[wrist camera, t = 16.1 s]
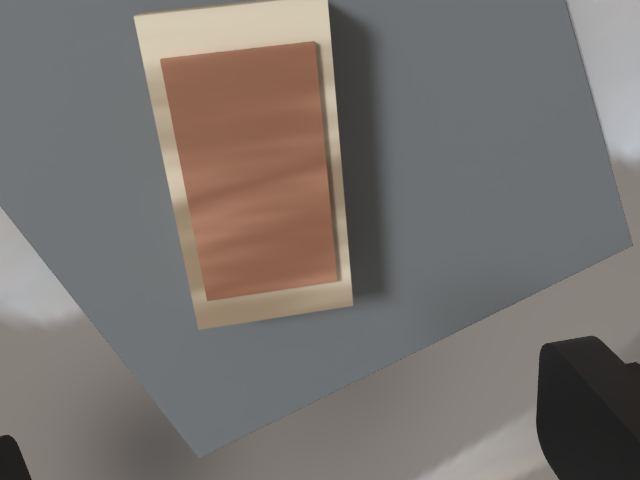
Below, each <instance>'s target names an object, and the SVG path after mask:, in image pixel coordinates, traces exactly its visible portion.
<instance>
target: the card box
mask: <svg viewBox="0 0 640 480" xmlns="http://www.w3.org/2000/svg"><path fill="white" fill-rule="evenodd" d="M134 21H135V26H136V31H137V36H138V40H139V45H140V50H141V55H142V60H143V65H144V69H145V74H146V79H147V84H148V89H149V94H150V98H151V103H152V108H153V113H154V118H155V123H156V128H157V132H158V137H159V142H160V147H161V152H162V157H163V161H164V166H165V171H166V176H167V181H168V186H169V190H170V195H171V200H172V205H173V210H174V215H175V219H176V224H177V229H178V234H179V239H180V244H181V248H182V253H183V258H184V263H185V268H186V273H187V277H188V282H189V287H190V292H191V297H192V302H193V307H194V311H195V316H196V321H197V326H198V330H201V329H207V328H214V327H220V326H227V325H233V324H240V323H246V322H252V321H259V320H265V319H272V318H278V317H285V316H291V315H297V314H304V313H310V312H317V311H323V310H330V309H336V308H342V307H349V306H353V296H352V284H351V272H350V260H349V248H348V236H347V224H346V212H345V200H344V188H343V176H342V165H341V153H340V141H339V129H338V117H337V105H336V93H335V81H334V69H333V57H332V45H331V33H330V21H329V9H328V0H249V1H240V2H231V3H221V4H212V5H203V6H194V7H184V8H175V9H166V10H157V11H147V12H143V13H141V14H138V15H136V16H134Z"/></svg>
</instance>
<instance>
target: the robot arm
mask: <svg viewBox="0 0 640 480" xmlns="http://www.w3.org/2000/svg"><path fill="white" fill-rule="evenodd" d="M536 426H537V434H538V438H539V442H540V445H541V448H542V451H543V453H544V456H545V458H546V460H547V461H548V463H549V465H550V466H551V468H552V469H553V471H554V472H555V474H556V475H557V477H558V478H559V480H640V364H638V363H636V362H634V363H628V364H625V363H624V362H623V361H622V360H621V359H620V358H619V357H618V356H617V355H616V354H615V353H613V352H612V351H611V350H610V349H609V348H608V347H607V346H606V345H605V344H604V343H603V342H602V341H601V340H600V339H598V338H597V337H595V336H587V337H581V338H575V339H569V340H564V341H558V342H552V343H546V344H545V345H543V346H542V349H541V351H540V357H539V376H538V395H537V415H536ZM0 480H32V479H31V477H30V474H29V472H28V469H27V467H26V464H25V461H24V459H23V456H22V454H21V451H20V449H19V446H18V444H17V442H16V441H15V439H14V438H13V437H11V436H9V435H3V436H0Z"/></svg>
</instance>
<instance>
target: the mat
mask: <svg viewBox="0 0 640 480" xmlns="http://www.w3.org/2000/svg"><path fill="white" fill-rule="evenodd" d="M240 1H249V0H0V206H1V208H2V209H3V210H4V211H5V213H6V214H7V215H8V216H9V218H10V219H11V220H12V222H13V223H14V224H15V225H16V227H17V228H18V229H19V230H20V232H21V233H22V234H23V236H24V237H25V238H26V239H27V241H28V242H29V243H30V244H31V246H32V247H33V248H34V249H35V251H36V252H37V253H38V255H39V256H40V257H41V258H42V260H43V261H44V262H45V263H46V265H47V266H48V267H49V269H50V270H51V271H52V272H53V274H54V275H55V276H56V277H57V279H58V280H59V281H60V282H61V284H62V285H63V286H64V288H65V289H66V290H67V291H68V293H69V294H70V295H71V296H72V298H73V299H74V300H75V302H76V303H77V304H78V305H79V307H80V308H81V309H82V310H83V312H84V313H85V314H86V315H87V317H88V318H89V319H90V321H91V322H92V323H93V324H94V326H95V327H96V328H97V329H98V331H99V332H100V333H101V335H102V336H103V337H104V338H105V340H106V341H107V342H108V343H109V345H110V346H111V347H112V349H113V350H114V351H115V352H116V354H117V355H118V356H119V357H120V359H121V360H122V361H123V362H124V364H125V365H126V366H127V368H128V369H129V370H130V371H131V373H132V374H133V375H134V376H135V378H136V379H137V380H138V381H139V383H140V384H141V385H142V387H143V388H144V389H145V390H146V392H147V393H148V394H149V395H150V397H151V398H152V399H153V400H154V402H155V403H156V404H157V406H158V407H159V408H160V409H161V411H162V412H163V413H164V414H165V416H166V417H167V418H168V419H169V421H170V422H171V423H172V425H173V426H174V427H175V428H176V430H177V431H178V432H179V433H180V435H181V436H182V437H183V439H184V440H185V441H186V442H187V444H188V445H189V446H190V448H191V449H192V450H193V451H194V452H195V454H196V455H197V456H198V458H201V457H203V456H205V455H207V454H209V453H211V452H213V451H215V450H217V449H219V448H221V447H223V446H225V445H227V444H229V443H232V442H234V441H236V440H238V439H240V438H242V437H244V436H246V435H248V434H250V433H252V432H254V431H256V430H258V429H260V428H262V427H264V426H266V425H268V424H270V423H272V422H274V421H276V420H278V419H280V418H282V417H284V416H286V415H289V414H291V413H293V412H294V411H297V410H298V409H301V408H303V407H305V406H307V405H309V404H311V403H313V402H315V401H317V400H319V399H321V398H323V397H325V396H327V395H329V394H331V393H333V392H335V391H337V390H339V389H341V388H343V387H346V386H348V385H350V384H352V383H354V382H356V381H358V380H360V379H362V378H364V377H366V376H368V375H370V374H372V373H374V372H376V371H378V370H380V369H382V368H384V367H386V366H388V365H390V364H392V363H394V362H396V361H398V360H401V359H403V358H405V357H407V356H409V355H411V354H413V353H415V352H417V351H419V350H421V349H423V348H425V347H427V346H429V345H431V344H433V343H435V342H437V341H439V340H441V339H443V338H445V337H447V336H449V335H451V334H454V333H456V332H458V331H459V330H462V329H464V328H466V327H468V326H470V325H472V324H474V323H476V322H478V321H480V320H482V319H484V318H486V317H488V316H490V315H492V314H494V313H496V312H498V311H500V310H502V309H504V308H506V307H509V306H511V305H513V304H515V303H517V302H519V301H521V300H523V299H525V298H527V297H529V296H531V295H533V294H535V293H537V292H539V291H541V290H543V289H545V288H547V287H549V286H551V285H553V284H555V283H557V282H559V281H561V280H563V279H566V278H568V277H569V276H571V275H574V274H576V273H578V272H580V271H582V270H584V269H586V268H588V267H590V266H592V265H594V264H596V263H598V262H600V261H602V260H604V259H606V258H608V257H610V256H612V255H614V254H616V253H619V252H621V251H623V250H624V249H627V248H629V247H631V246H633V243H632V240H631V236H630V233H629V229H628V226H627V222H626V218H625V215H624V212H623V208H622V204H621V201H620V197H619V193H618V190H617V186H616V183H615V179H614V175H613V172H612V168H611V165H610V161H609V157H608V154H607V150H606V147H605V143H604V139H603V136H602V132H601V129H600V125H599V122H598V118H597V114H596V111H595V107H594V104H593V100H592V96H591V93H590V89H589V86H588V82H587V78H586V75H585V71H584V68H583V64H582V61H581V57H580V53H579V50H578V46H577V43H576V39H575V35H574V32H573V28H572V25H571V21H570V18H569V14H568V10H567V7H566V3H565V0H328V9H329V21H330V33H331V45H332V57H333V69H334V81H335V93H336V105H337V117H338V129H339V141H340V153H341V165H342V176H343V188H344V200H345V212H346V224H347V236H348V248H349V260H350V272H351V284H352V296H353V306H349V307H342V308H336V309H330V310H323V311H317V312H310V313H304V314H297V315H291V316H285V317H278V318H272V319H265V320H259V321H252V322H246V323H240V324H233V325H227V326H220V327H214V328H207V329H201V330H198V326H197V321H196V316H195V311H194V307H193V302H192V297H191V292H190V287H189V282H188V277H187V273H186V268H185V263H184V258H183V253H182V248H181V244H180V239H179V234H178V229H177V224H176V219H175V215H174V210H173V205H172V200H171V195H170V190H169V186H168V181H167V176H166V171H165V166H164V161H163V157H162V152H161V147H160V142H159V137H158V132H157V128H156V123H155V118H154V113H153V108H152V103H151V98H150V94H149V89H148V84H147V79H146V74H145V69H144V65H143V60H142V55H141V50H140V45H139V40H138V36H137V31H136V26H135V21H134V16H136V15H138V14H141V13H143V12H147V11H157V10H166V9H175V8H184V7H194V6H203V5H212V4H221V3H231V2H240Z"/></svg>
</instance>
